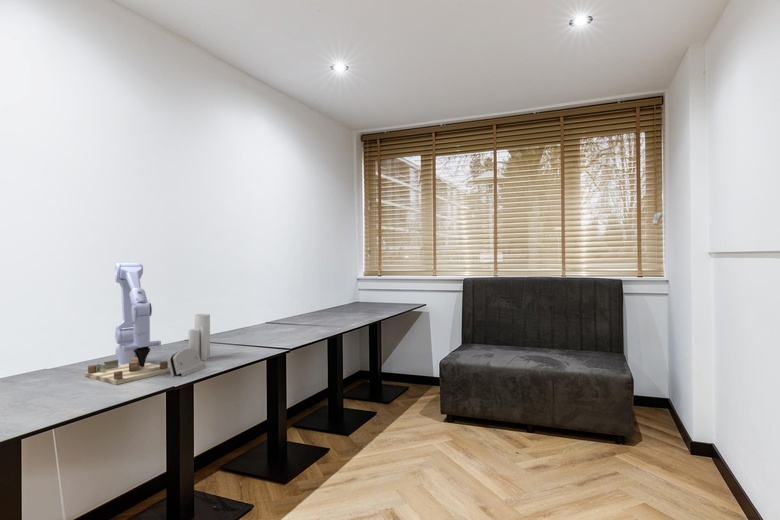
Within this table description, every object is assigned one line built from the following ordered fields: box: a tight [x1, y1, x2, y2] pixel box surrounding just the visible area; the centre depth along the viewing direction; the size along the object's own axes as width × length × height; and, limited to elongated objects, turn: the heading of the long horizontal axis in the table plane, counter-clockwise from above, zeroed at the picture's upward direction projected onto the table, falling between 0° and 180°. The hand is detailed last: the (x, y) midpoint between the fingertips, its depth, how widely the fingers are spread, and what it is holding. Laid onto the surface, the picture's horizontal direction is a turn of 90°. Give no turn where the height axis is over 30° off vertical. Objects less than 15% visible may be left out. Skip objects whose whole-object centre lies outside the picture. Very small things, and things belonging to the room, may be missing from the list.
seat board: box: [84, 354, 171, 386], centre depth 180 cm, size 22×22×6 cm
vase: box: [188, 313, 211, 361], centre depth 205 cm, size 11×7×20 cm, turn 178°
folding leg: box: [129, 357, 140, 371], centre depth 183 cm, size 12×3×3 cm, turn 24°
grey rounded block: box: [167, 348, 206, 378], centre depth 185 cm, size 17×5×10 cm, turn 172°
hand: (141, 366), depth 181 cm, fingers closed
